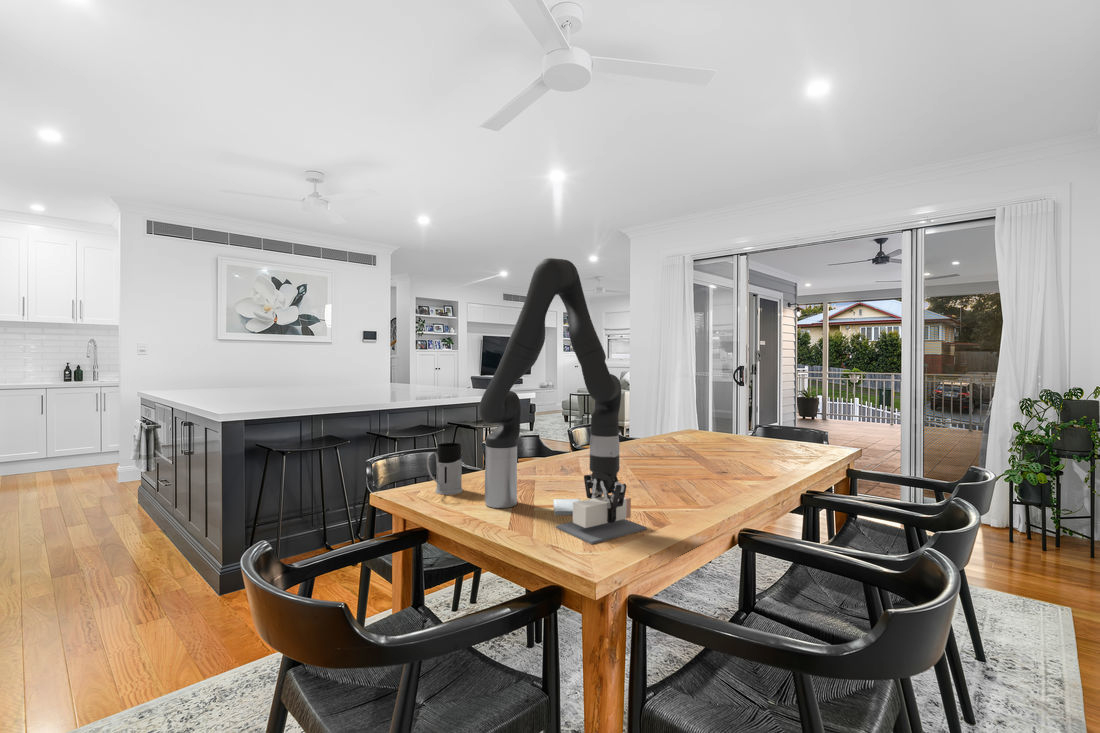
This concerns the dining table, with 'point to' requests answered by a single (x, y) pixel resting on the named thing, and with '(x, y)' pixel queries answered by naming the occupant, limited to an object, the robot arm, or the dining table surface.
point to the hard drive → (564, 506)
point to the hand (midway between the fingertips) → (604, 519)
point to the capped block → (598, 511)
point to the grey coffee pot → (448, 468)
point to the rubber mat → (601, 530)
